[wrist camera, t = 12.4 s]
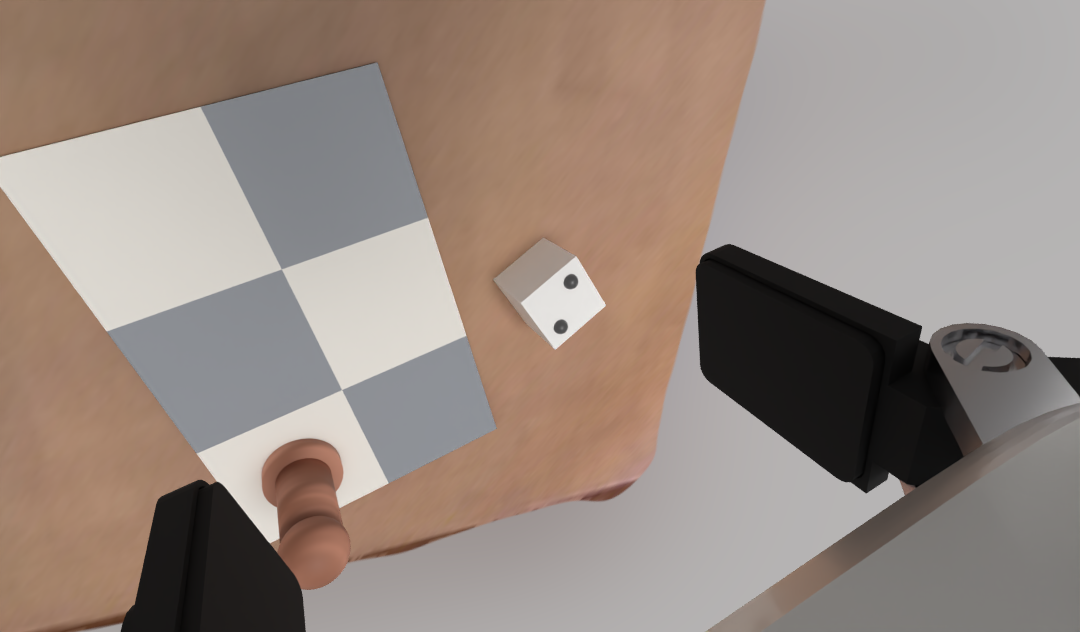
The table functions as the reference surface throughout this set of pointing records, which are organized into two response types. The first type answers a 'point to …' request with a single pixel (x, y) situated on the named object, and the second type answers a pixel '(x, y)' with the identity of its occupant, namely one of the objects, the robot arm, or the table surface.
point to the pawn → (308, 509)
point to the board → (267, 279)
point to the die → (550, 291)
